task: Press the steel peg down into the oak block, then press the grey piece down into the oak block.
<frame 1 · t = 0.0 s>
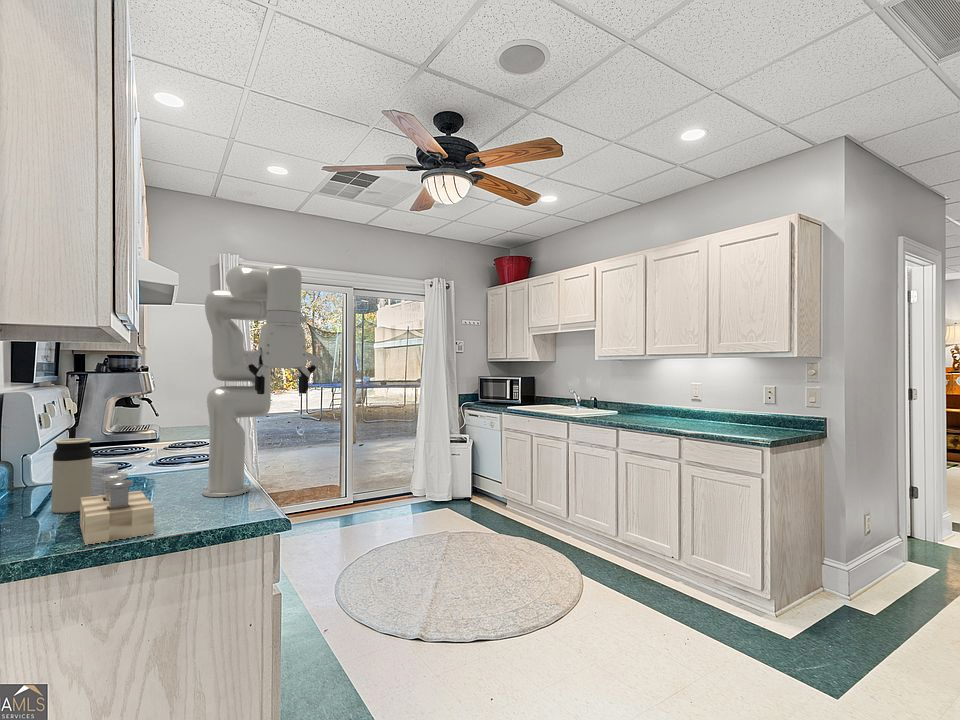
hand: (282, 393, 120), 31 cm above the countertop, fingers open, 9 cm apart
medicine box: (100, 495, 149), on the countertop
travel mug: (71, 510, 133), on the countertop
steel peg: (113, 489, 122), point 8 cm above the countertop, slide at 4.5 cm
oak block: (115, 528, 118), on the countertop
grey piece: (118, 497, 114), point 8 cm above the countertop, slide at 4.5 cm
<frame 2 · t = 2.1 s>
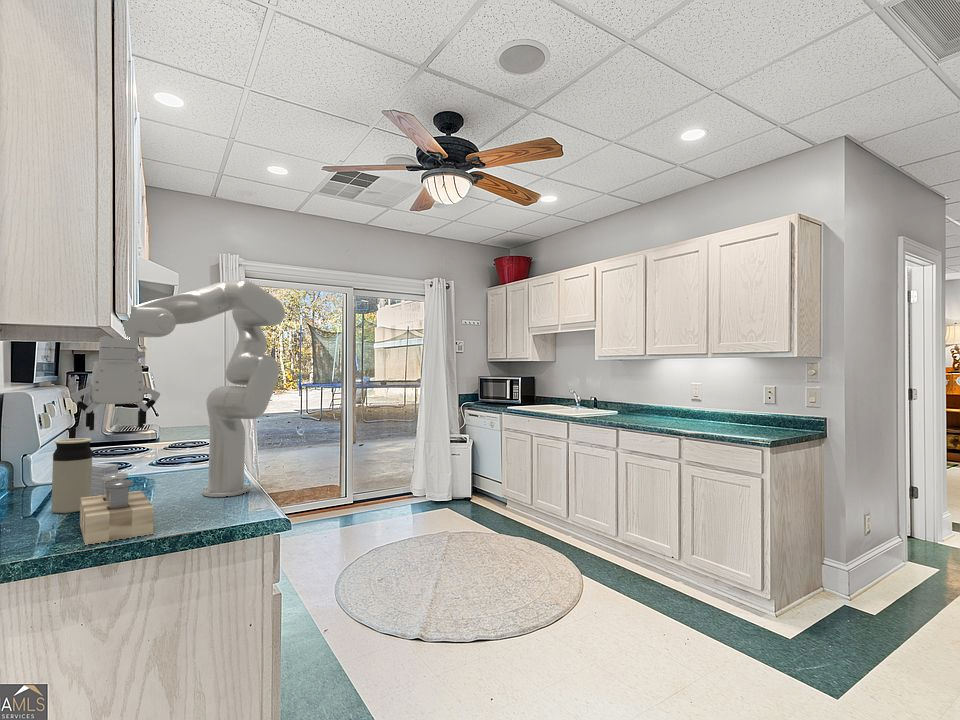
hand: (116, 428, 122), 22 cm above the countertop, fingers open, 9 cm apart
nothing on the countertop moved.
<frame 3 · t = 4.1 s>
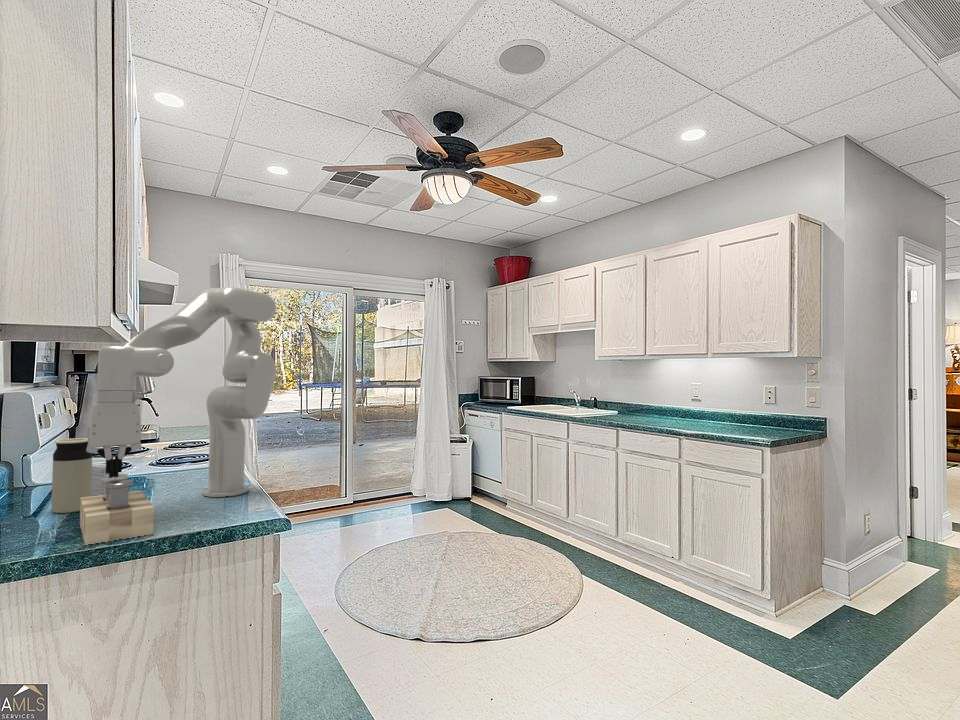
hand: (113, 475, 121), 11 cm above the countertop, fingers closed
steel peg: (113, 489, 122), point 8 cm above the countertop, slide at 4.3 cm, touching gripper
everything else where it was.
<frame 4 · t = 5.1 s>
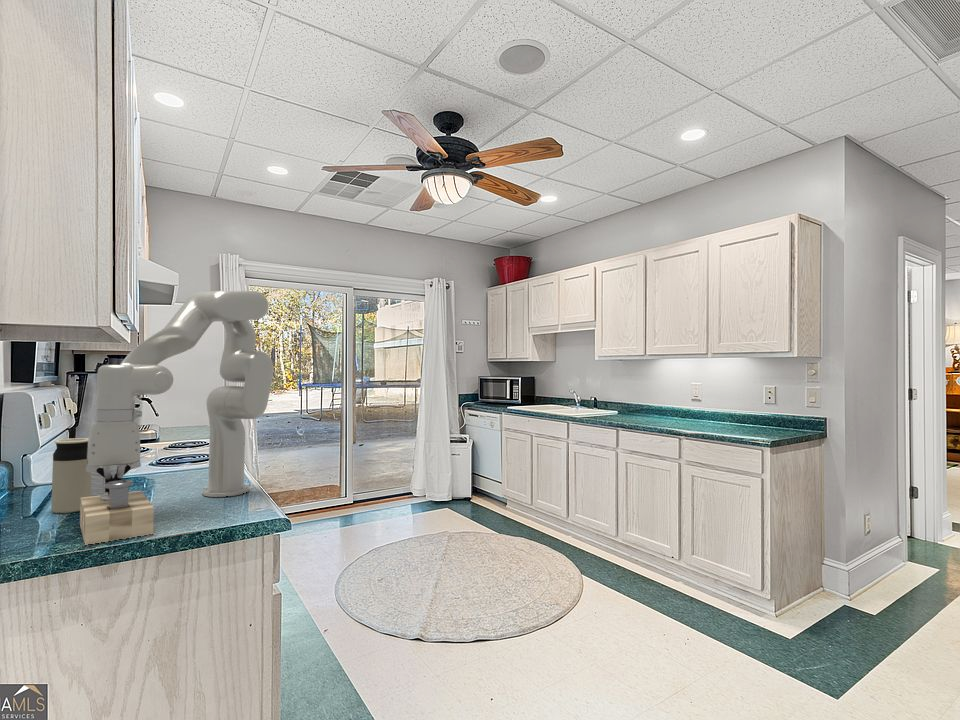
hand: (112, 494, 121), 7 cm above the countertop, fingers closed
steel peg: (113, 508, 122), point 4 cm above the countertop, slide at -0.1 cm, touching gripper, oak block
everything else where it was.
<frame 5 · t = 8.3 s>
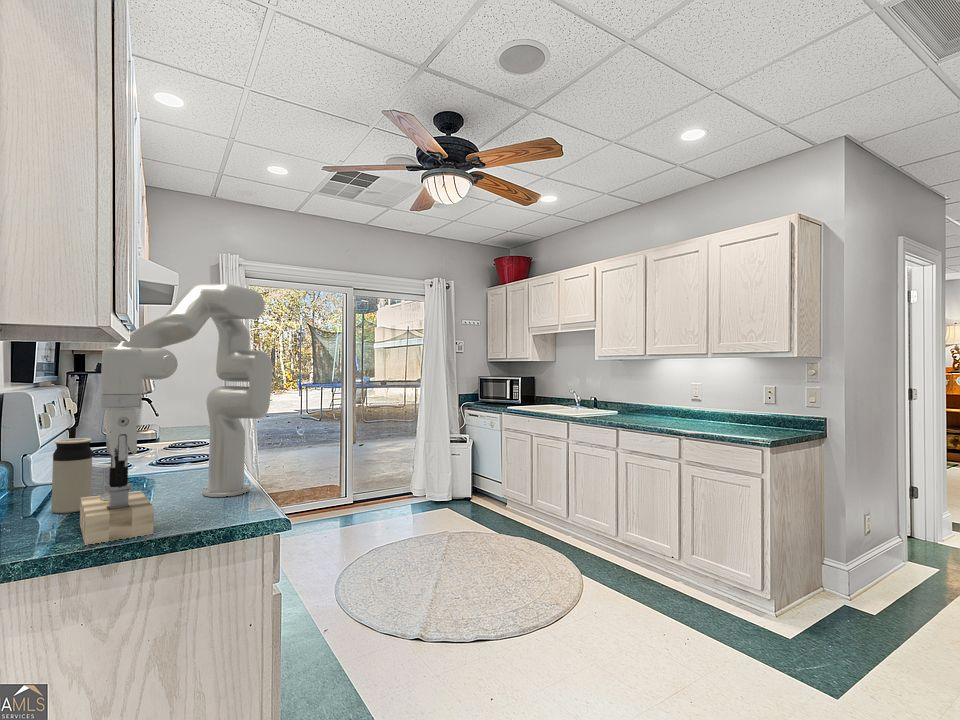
hand: (118, 485, 114), 11 cm above the countertop, fingers closed
steel peg: (113, 508, 122), point 4 cm above the countertop, slide at -0.1 cm, touching oak block
grey piece: (118, 500, 114), point 7 cm above the countertop, slide at 3.9 cm, touching gripper
everything else where it was.
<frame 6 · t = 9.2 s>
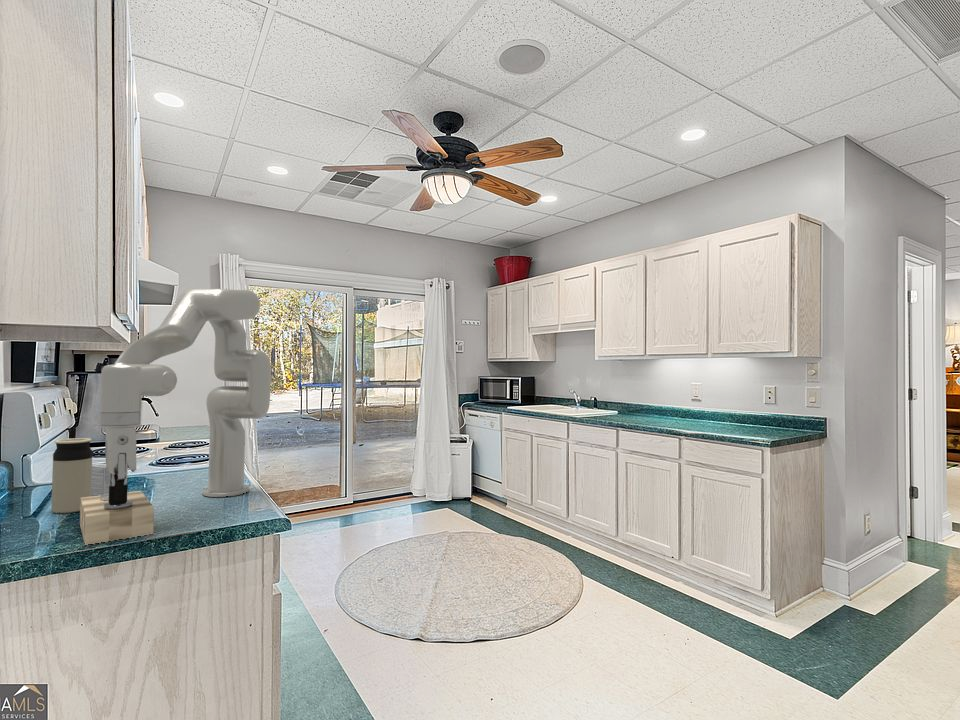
hand: (117, 503, 114), 7 cm above the countertop, fingers closed
grey piece: (118, 518, 114), point 4 cm above the countertop, slide at -0.1 cm, touching gripper, oak block
everything else where it was.
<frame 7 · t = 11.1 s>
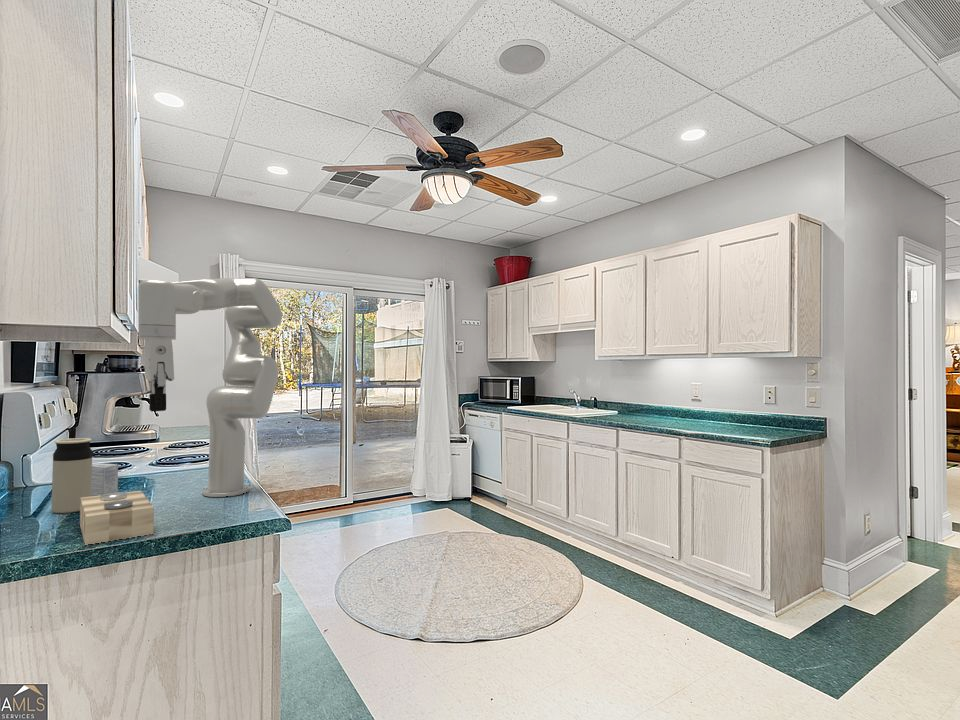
hand: (157, 410, 122), 27 cm above the countertop, fingers closed
grey piece: (118, 518, 114), point 4 cm above the countertop, slide at -0.1 cm, touching oak block
everything else where it was.
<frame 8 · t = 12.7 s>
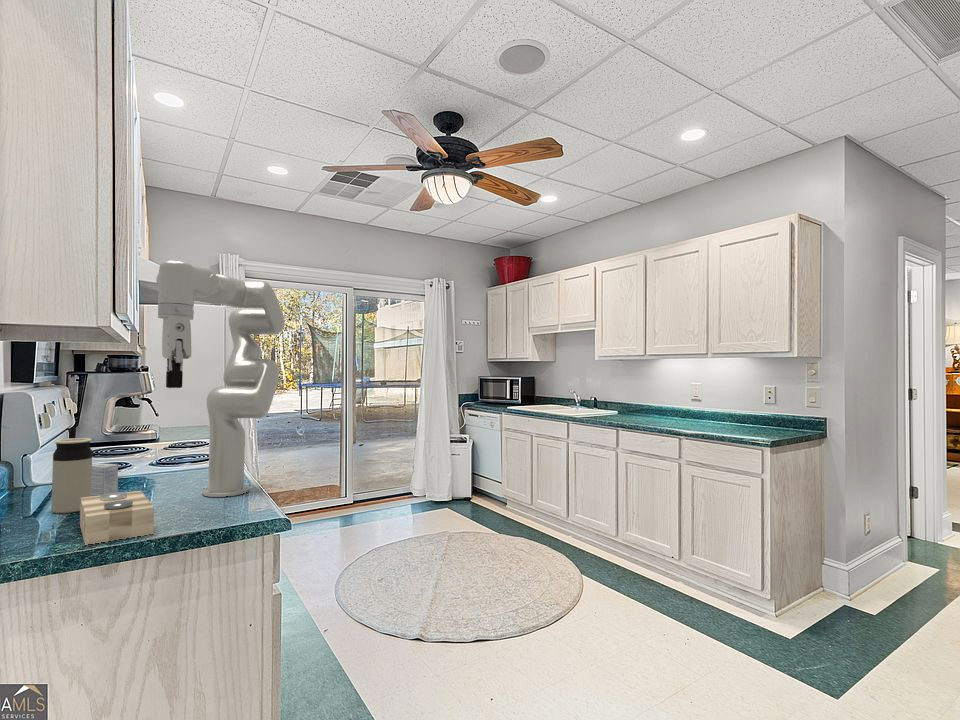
hand: (174, 387, 125), 32 cm above the countertop, fingers closed
nothing on the countertop moved.
at the end: steel peg slide at -0.1 cm; grey piece slide at -0.1 cm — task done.
